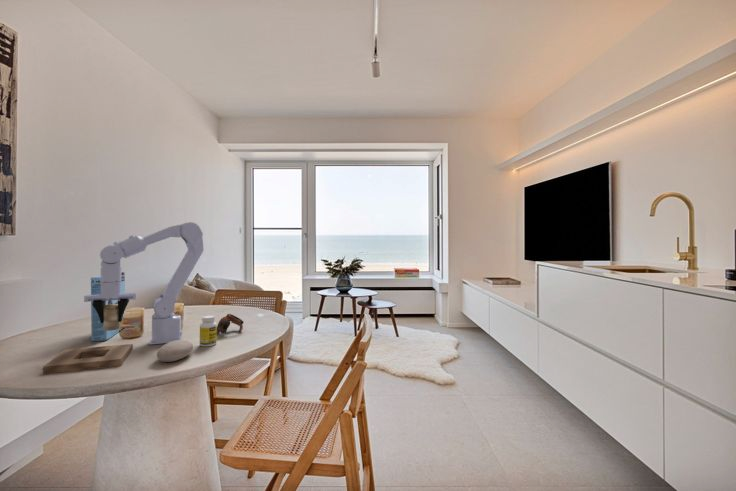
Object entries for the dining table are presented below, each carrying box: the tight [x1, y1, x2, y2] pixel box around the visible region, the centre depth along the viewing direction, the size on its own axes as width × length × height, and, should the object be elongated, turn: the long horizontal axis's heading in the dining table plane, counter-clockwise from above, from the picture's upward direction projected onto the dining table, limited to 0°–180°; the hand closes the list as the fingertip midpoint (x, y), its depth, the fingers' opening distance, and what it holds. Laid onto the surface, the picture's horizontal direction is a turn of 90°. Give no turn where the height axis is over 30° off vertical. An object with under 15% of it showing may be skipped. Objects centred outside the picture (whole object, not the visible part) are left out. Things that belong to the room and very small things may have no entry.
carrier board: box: [42, 343, 134, 375], centre depth 111 cm, size 18×16×2 cm
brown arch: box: [217, 313, 245, 335], centre depth 144 cm, size 12×10×8 cm
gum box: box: [90, 271, 126, 342], centre depth 140 cm, size 20×5×23 cm, turn 16°
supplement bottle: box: [199, 315, 218, 347], centre depth 128 cm, size 5×5×10 cm
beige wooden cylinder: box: [103, 304, 120, 331], centre depth 123 cm, size 4×4×8 cm
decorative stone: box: [156, 339, 194, 363], centre depth 114 cm, size 13×9×5 cm
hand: (111, 321), depth 123 cm, fingers closed on beige wooden cylinder, 4 cm apart
